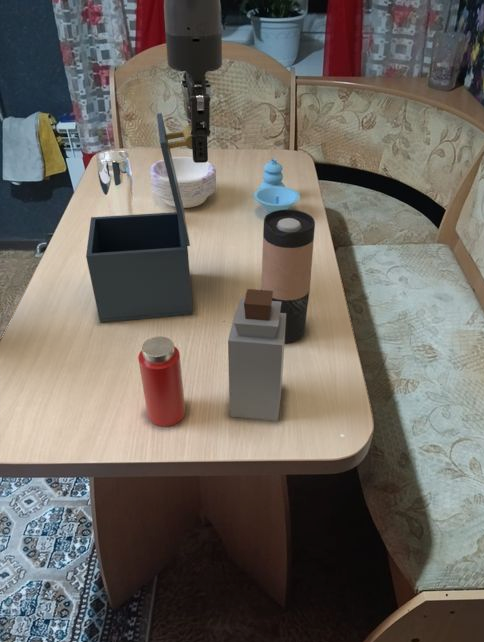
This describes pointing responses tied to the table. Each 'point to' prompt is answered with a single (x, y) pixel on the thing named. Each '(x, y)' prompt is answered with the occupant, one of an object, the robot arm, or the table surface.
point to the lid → (171, 171)
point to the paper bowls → (184, 181)
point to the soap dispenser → (275, 189)
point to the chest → (139, 267)
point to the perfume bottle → (256, 357)
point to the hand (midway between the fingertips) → (198, 154)
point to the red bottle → (162, 381)
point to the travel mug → (288, 265)
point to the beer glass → (116, 181)
